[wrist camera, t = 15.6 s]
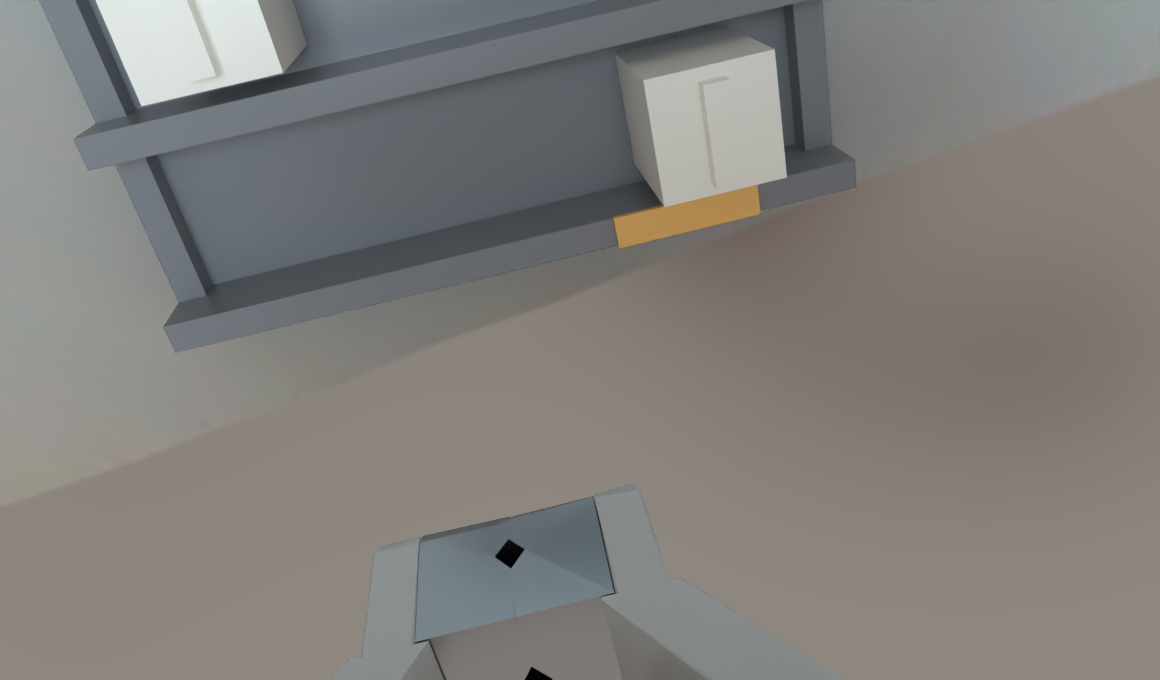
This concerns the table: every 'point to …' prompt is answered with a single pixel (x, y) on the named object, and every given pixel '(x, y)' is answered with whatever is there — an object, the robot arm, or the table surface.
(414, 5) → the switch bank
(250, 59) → the white rectangular block
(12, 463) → the table surface
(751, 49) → the white boxy block
